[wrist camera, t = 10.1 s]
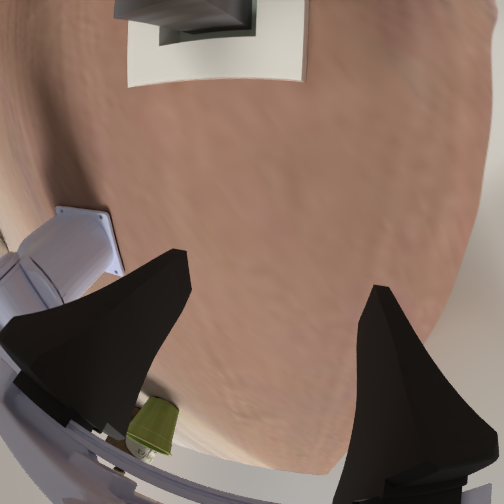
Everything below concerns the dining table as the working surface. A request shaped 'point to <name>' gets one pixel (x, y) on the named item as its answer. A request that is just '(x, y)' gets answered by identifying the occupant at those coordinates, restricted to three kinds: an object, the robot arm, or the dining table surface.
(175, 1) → the peg
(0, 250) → the lidded jar
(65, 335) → the robot arm
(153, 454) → the wooden container
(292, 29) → the socket block
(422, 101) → the dining table surface
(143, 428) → the plant pot
